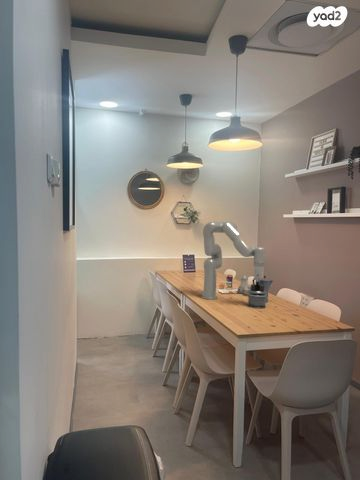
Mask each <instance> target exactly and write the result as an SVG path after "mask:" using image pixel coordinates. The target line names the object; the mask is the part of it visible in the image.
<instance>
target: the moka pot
mask: <svg viewBox="0 0 360 480" xmlns="http://www.w3.org/2000/svg"><path fill="white" fill-rule="evenodd" d="M255 281H256V279H255V280H254V278H253V279H252V284H256V282H255ZM273 282H274V281H273V280H272V279H269V278H267V276H265V275H263V277H261V280H260V285H264V288H265V290H266V291H267V293H266V302H265V304H267V303H268V302H269V290H270V286H271V285H272V283H273Z"/></svg>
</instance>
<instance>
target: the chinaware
mask: <svg viewBox="0 0 360 480" xmlns="http://www.w3.org/2000/svg"><path fill="white" fill-rule="evenodd" d="M240 281H241V282H240V284H239V286H238V287H237V291H238V293H239V294H240V293H241V295H246V296H247V297H249V295H248V293H250V292H248V289H251V285H249V283H248V281H249V277H248V276H246V274H244V275H242V276H241V277H240Z"/></svg>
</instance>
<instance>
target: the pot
mask: <svg viewBox="0 0 360 480" xmlns="http://www.w3.org/2000/svg"><path fill="white" fill-rule="evenodd" d="M248 295H249V296H248V304H247V307H249V308H252V309H266V307H267V306H266V303H267V302H266V294H254V293H248ZM265 302H266V303H265Z"/></svg>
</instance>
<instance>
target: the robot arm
mask: <svg viewBox="0 0 360 480" xmlns="http://www.w3.org/2000/svg"><path fill="white" fill-rule="evenodd" d="M202 233H203V235H202V237H203V249H204V254H205V255H206V256H208V258H206V259H205V260H204V262H203V268H204V269H203V270H204V271H203V272H204V275H203V276H204V277H203V280H204V281H203V291H198V294H199V295H201V298H203V299H207V300H217V299H218V295H216V294H217V292H216V291H217V269H218V270H219V269H220V268H222V266H223V254H222V247H221V246H220V245H219V244H217V243H216V239H215V235H214V233H216V234H217V233H222V234H223V233H224V234H225V235H226V236H227V237H228V238H229V239H230V240H231V242H232V244H233V246H234V248H235V250H236V251H237V252H238V253H239V254H240V255H241V256H242V257H244V258H250V257H251V258H252V257H253V262H252V263H253V267H254V268H253V269H254V270H253V271H254V272H253V279H254V281H255V290H258V291H259V290H260V280H261V278H263V277H262V276H263V268H264V267H265V256H266V255H265V254H266V249H265V248H264V247H260V246H259V247H257V246H249V245H248V246H247V245H246V244H245V243H244V241H243V240H242V233H241V232H240V231H239V230H238V225H237V224H236V223H235V222H233V221H209V222H207V223H206V224H205V225H204V226H203V229H202ZM255 279H256V280H255Z"/></svg>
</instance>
